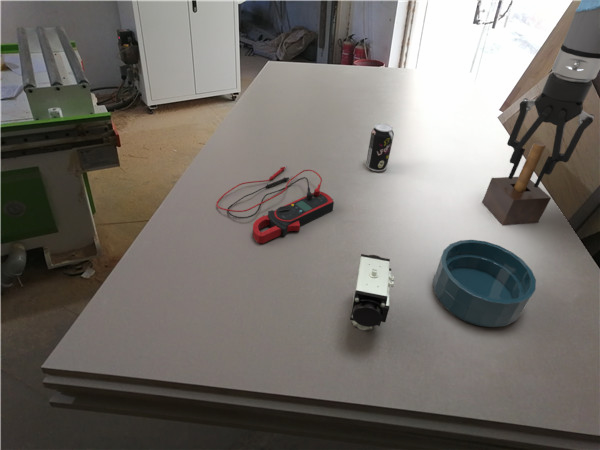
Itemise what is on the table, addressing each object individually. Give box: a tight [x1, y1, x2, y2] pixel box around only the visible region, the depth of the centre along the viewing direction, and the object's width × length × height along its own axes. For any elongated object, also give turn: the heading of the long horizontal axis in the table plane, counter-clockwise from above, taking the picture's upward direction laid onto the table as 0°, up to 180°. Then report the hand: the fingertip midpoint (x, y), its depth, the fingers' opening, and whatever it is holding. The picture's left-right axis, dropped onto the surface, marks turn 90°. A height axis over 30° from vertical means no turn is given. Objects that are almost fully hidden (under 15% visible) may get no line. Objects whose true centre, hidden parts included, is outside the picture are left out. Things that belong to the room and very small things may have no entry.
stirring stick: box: [514, 140, 547, 192], centre depth 91 cm, size 2×2×18 cm
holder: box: [481, 176, 552, 226], centre depth 95 cm, size 9×9×7 cm
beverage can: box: [365, 122, 395, 172], centre depth 107 cm, size 6×6×12 cm
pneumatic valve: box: [349, 253, 395, 331], centre depth 65 cm, size 6×12×12 cm, turn 168°
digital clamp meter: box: [215, 164, 334, 244], centre depth 94 cm, size 23×4×25 cm
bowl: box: [432, 239, 537, 328], centre depth 73 cm, size 16×16×7 cm
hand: (523, 180), depth 91 cm, fingers open, 5 cm apart
